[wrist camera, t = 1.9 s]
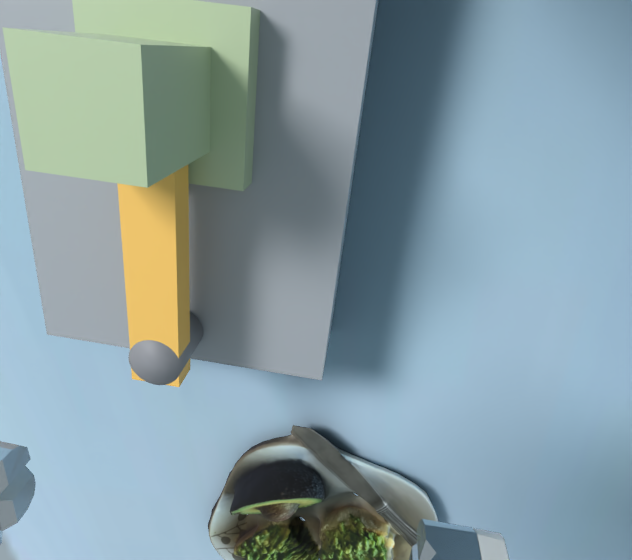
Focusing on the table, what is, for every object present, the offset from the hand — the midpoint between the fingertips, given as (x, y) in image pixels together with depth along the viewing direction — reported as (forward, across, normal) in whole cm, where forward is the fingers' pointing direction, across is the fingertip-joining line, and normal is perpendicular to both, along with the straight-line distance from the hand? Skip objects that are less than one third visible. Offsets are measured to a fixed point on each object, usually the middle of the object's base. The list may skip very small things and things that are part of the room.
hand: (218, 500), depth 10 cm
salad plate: (+21, -2, +25) cm, 32 cm away
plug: (+18, +7, -6) cm, 20 cm away
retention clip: (+15, +7, +2) cm, 16 cm away
